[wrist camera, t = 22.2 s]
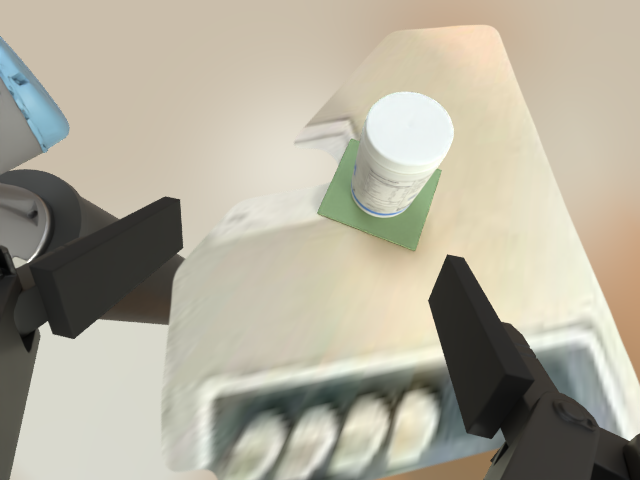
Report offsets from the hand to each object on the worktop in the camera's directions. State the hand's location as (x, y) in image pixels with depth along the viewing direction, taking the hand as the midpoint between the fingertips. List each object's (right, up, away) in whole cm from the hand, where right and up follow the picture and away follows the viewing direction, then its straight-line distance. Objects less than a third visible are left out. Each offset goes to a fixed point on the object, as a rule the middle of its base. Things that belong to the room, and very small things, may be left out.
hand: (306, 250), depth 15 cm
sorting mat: (+10, +8, +31) cm, 33 cm away
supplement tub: (+10, +8, +30) cm, 33 cm away
